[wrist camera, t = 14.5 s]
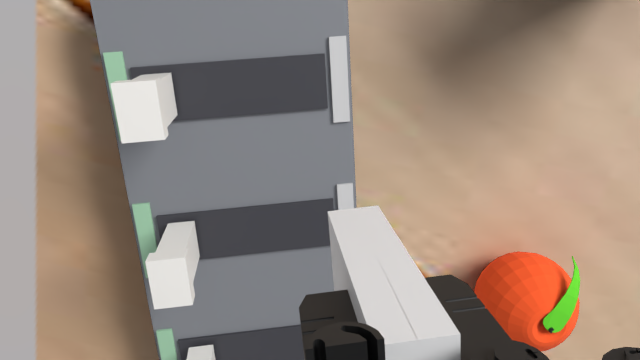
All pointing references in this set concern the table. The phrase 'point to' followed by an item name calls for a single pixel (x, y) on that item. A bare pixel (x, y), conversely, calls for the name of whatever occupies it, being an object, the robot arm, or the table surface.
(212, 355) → the switch
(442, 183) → the table surface
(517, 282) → the clementine
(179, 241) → the switch middle
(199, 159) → the switch panel
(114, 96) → the switch
